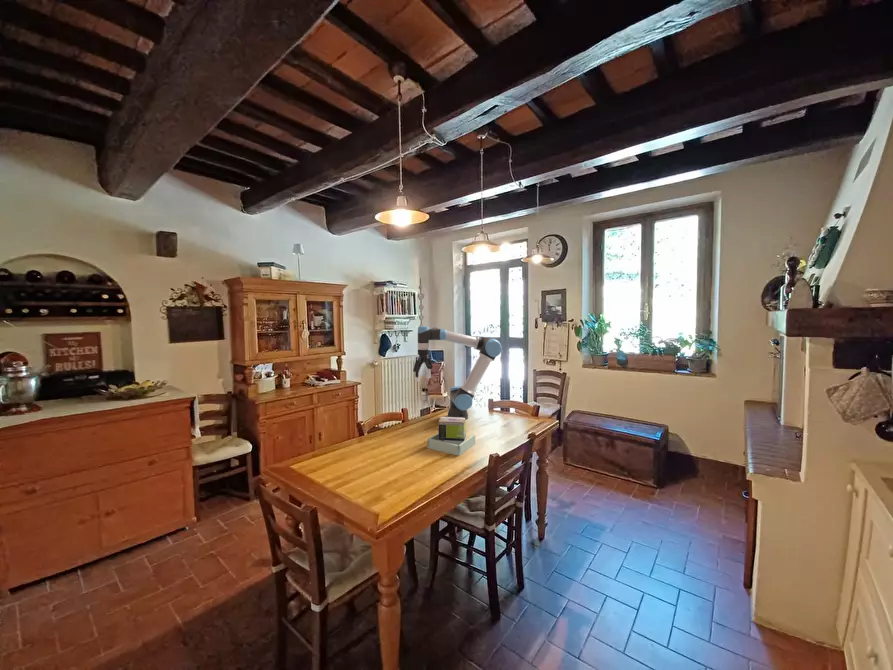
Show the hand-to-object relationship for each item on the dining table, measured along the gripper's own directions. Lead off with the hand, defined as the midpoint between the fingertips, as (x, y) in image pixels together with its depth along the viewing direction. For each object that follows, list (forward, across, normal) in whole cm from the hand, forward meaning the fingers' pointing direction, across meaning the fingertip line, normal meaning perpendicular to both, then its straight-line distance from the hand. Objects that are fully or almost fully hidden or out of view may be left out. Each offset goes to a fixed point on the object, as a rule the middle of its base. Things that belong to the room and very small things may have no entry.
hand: (423, 379), depth 248 cm
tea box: (+31, +21, +35) cm, 51 cm away
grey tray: (+32, +22, +35) cm, 52 cm away
